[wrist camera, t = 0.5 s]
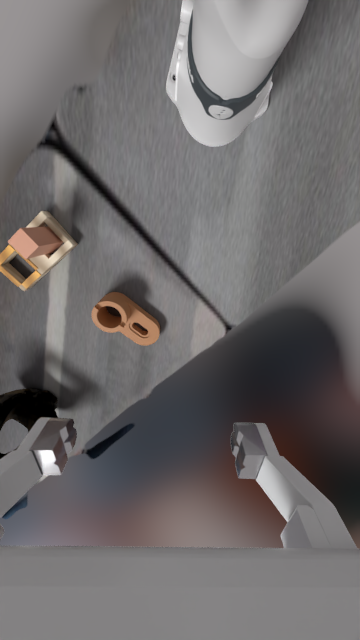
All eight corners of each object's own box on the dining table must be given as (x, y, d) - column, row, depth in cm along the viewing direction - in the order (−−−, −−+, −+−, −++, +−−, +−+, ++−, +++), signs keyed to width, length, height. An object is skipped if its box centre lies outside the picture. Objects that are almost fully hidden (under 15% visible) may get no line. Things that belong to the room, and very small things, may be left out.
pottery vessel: (-3, 384, 67) (-68, 444, 49) (15, 366, 64) (-47, 423, 46) (62, 423, 75) (26, 486, 58) (81, 409, 72) (49, 472, 55)
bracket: (95, 307, 56) (85, 318, 50) (112, 285, 53) (104, 294, 47) (147, 345, 61) (144, 359, 55) (166, 326, 58) (164, 339, 52)
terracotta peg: (50, 226, 47) (20, 227, 38) (64, 241, 48) (38, 246, 39) (39, 237, 48) (7, 241, 39) (53, 252, 49) (25, 259, 40)
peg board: (48, 211, 45) (40, 210, 43) (78, 244, 48) (72, 245, 46) (0, 261, 50) (-9, 263, 48) (30, 288, 53) (23, 291, 51)
